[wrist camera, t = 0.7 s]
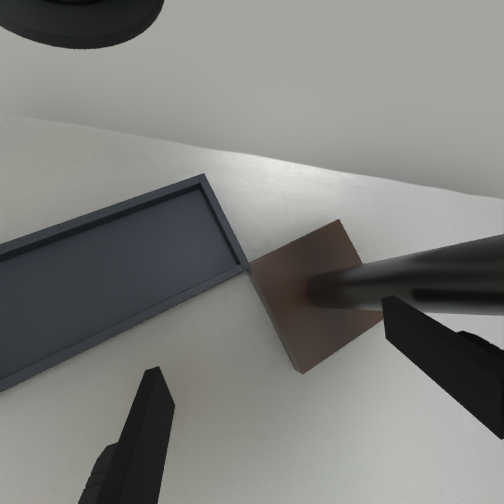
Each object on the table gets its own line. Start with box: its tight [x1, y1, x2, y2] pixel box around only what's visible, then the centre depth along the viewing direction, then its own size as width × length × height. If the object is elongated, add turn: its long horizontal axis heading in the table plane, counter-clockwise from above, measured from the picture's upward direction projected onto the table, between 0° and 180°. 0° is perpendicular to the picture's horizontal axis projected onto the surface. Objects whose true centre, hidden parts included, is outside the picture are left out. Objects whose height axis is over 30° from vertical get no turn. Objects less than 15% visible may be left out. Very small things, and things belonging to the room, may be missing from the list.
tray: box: [0, 174, 251, 392], centre depth 23 cm, size 24×11×2 cm, turn 118°
